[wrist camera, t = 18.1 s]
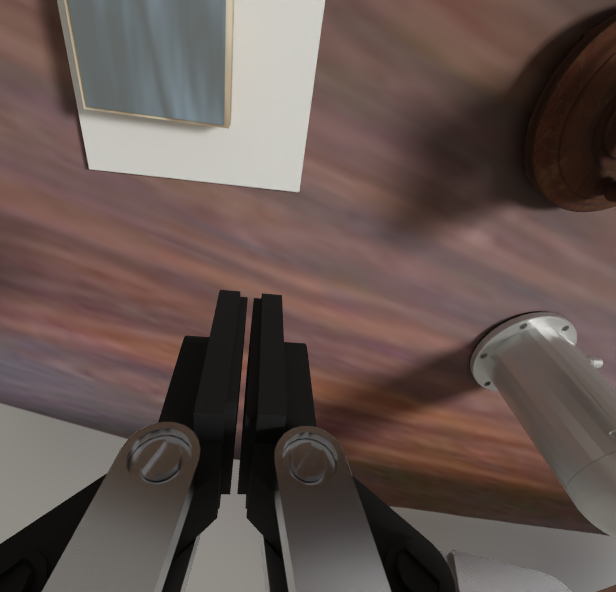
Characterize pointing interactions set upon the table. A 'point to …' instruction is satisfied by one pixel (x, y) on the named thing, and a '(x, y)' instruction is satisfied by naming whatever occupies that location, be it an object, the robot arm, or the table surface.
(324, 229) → the table surface
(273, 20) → the rubber mat
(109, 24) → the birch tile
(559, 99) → the brown wooden ornament
